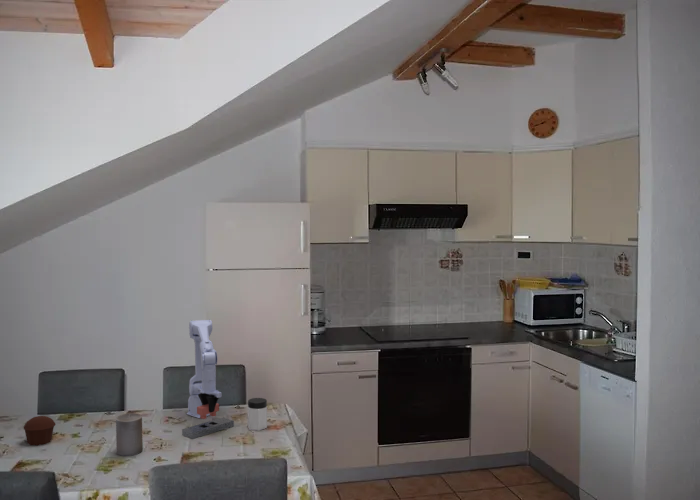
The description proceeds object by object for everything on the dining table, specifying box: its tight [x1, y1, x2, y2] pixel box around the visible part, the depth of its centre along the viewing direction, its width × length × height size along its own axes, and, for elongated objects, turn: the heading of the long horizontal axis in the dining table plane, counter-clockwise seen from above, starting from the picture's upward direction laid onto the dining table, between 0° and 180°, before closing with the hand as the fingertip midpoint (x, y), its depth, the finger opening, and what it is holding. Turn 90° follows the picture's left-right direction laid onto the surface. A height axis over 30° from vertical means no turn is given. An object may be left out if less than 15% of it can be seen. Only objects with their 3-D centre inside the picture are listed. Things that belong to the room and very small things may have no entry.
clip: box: [197, 402, 220, 420], centre depth 278 cm, size 4×9×5 cm, turn 140°
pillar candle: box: [115, 412, 144, 457], centre depth 253 cm, size 10×10×15 cm
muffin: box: [23, 415, 56, 446], centre depth 262 cm, size 12×11×10 cm
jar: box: [247, 397, 268, 431], centre depth 284 cm, size 9×8×12 cm
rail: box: [181, 416, 235, 440], centre depth 279 cm, size 7×22×2 cm, turn 140°
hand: (208, 410), depth 278 cm, fingers closed on clip, 3 cm apart
